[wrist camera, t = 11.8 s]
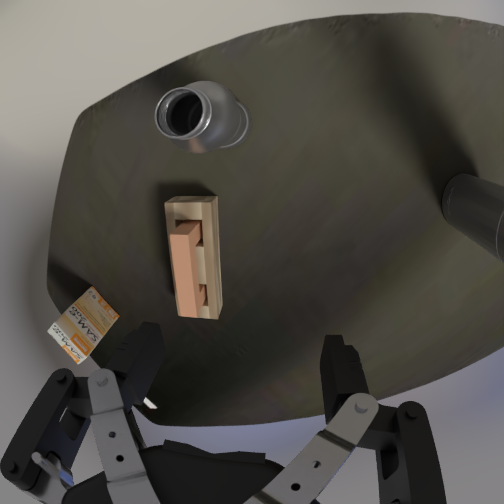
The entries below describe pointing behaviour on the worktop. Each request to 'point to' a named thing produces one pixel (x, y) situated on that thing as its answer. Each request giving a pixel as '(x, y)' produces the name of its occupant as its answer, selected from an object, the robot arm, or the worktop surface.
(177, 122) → the metal bottle
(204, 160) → the worktop surface
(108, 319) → the supplement box
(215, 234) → the rail
